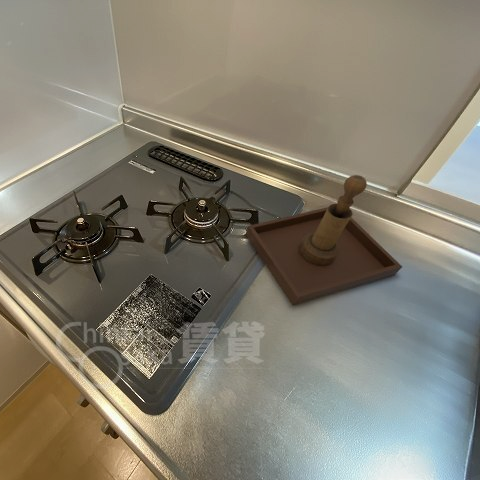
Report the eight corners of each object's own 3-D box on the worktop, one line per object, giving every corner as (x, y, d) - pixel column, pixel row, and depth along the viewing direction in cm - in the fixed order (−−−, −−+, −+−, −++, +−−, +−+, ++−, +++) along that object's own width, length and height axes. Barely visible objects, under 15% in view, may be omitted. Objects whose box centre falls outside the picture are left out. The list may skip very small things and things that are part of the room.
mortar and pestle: (296, 258, 60) (334, 183, 47) (301, 236, 64) (337, 161, 51) (333, 270, 58) (383, 195, 45) (336, 246, 62) (383, 171, 49)
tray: (332, 214, 69) (338, 204, 67) (393, 276, 58) (402, 266, 56) (245, 235, 65) (247, 225, 63) (292, 306, 54) (297, 297, 52)
